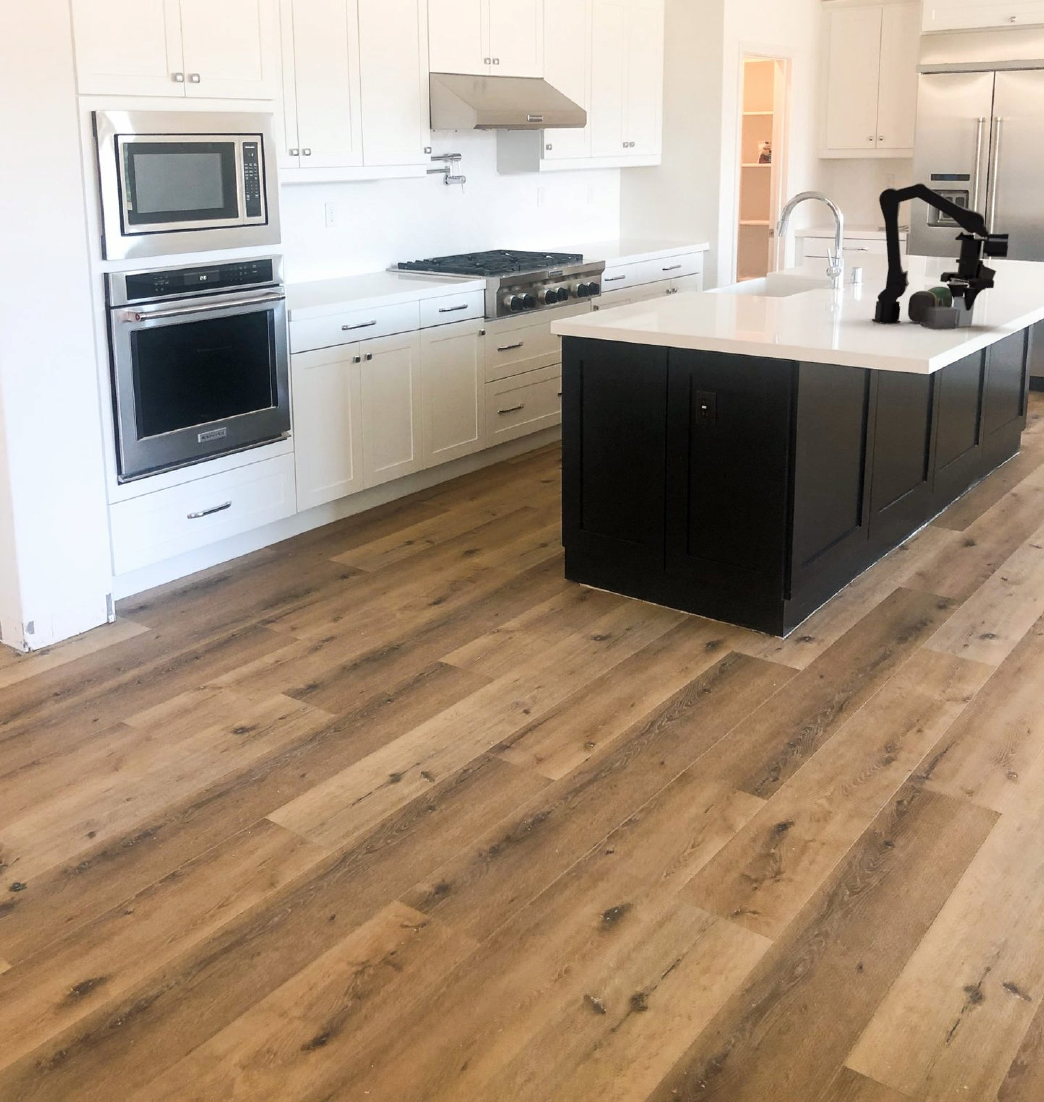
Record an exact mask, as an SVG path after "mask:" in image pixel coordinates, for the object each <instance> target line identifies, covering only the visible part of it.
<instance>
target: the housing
mask: <svg viewBox="0 0 1044 1102" xmlns="http://www.w3.org/2000/svg"><path fill="white" fill-rule="evenodd" d="M956 313H957V309H952V308H948V307H944V306H940V307H923V309H922V318H921V322H920V327H923V328H928V329H931V330H948V329H949V330H952V329H954V330H955V328H956V326H955V321H956Z"/></svg>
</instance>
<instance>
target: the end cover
mask: <svg viewBox="0 0 1044 1102" xmlns="http://www.w3.org/2000/svg"><path fill="white" fill-rule="evenodd" d="M975 302H976V300H975V301H974V303H973V305H972V307H971V309H970V310H969V311H967V310H966V307H965V298H964V296H963V297H954V299H953V304H952V307H950V308H952V309H957V313H956V321H955V327H958V328H961V327H971V326H972V322H973V316H974V308H975Z"/></svg>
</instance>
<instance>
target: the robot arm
mask: <svg viewBox="0 0 1044 1102" xmlns="http://www.w3.org/2000/svg"><path fill="white" fill-rule="evenodd" d="M916 198H918V199H919V200H922V201H923V202H925V203H926V204H928V205H930V206H932V207H934V208H936V210H939V211H940V212H942V213H943V214H945V215H947V216H948V217H950V218H951V219H953V220H954V221H955V222H956V223H957V224H958V225H959V226H960V227H961V228H962V229H964V230H965V231H966V232H968V233H969V234H966V233H964V232H963V231H960V233H959V234H958V235H957V236H955V238H954V240H955V241H960V242H961V243H960V251H959V258H956V259H955V263H956V264H958V267H957V268H958V269H957V271H943V272H942V274H941V275H940V280H939V282H942V283H946V286H947V288H949V289H950V292H951V294H952V300H954V297H964V298H965V307H966V310H967V311H969V310H970V309H971V307H972V305H973V303H974V304H975V302H976V298H977V296H978V295H979V294H980V292H982V291H984V290H986V289H994V287H995V280H994V277H995V275H996V273H997V270H994V269H992V268H990V267H988V266H985V264H984V261H983V260H982V259H981V252H982V253H983V254H985V255H986V257H988V258H1007V257H1008V250H1009V236H1010V234H1009V233H1007V232H1006V233H990V232H989V229H987V227H986V226H985V216H984V215H983V214H982V213H980V212H979V211H975V210H973V209H970V208H967V207H964V206H961V205H959V204H957V203H955V202H953V201H952V200H950V199H948V198H947V197H945V196H943V195H942V194H940V193H939V192H936V191H935V190H933V189H931V188H930V187H928V186H926V184H925V183H922V182H919V183H916V184H915V185H910V186H906V187H903V188H898V189H897V188H895V187H889V188H886V189H885V190H883V191H882V192H881V193H880V195H879V197H878V201H879V202H878V203H879V206H880V209H881V212H882V213H881V214H882V217H883V219H884V226H885V243H886V251H887V252H886V253H887V267H888V268H887V275H886V280H885V288H884V289H882V291H881V292H880V293H878V295H877V300H876V303H875V311H874V318H871V321H873V322H876V323H880V324H893V323H894V324H899V323H901V320H900V312H901V306H900V305H901V304H900V303H901V302H900V301H898V299H899V298H900V297H902V296H903V295H904V294H905V292H906V290H907V287H908V286H909V285H910V282H909V280H908V279H909V278H908V276H909V275H908V274H909V271H908V270H905V271H904V269H903V266H902V256H901V254H902V253H901V240H900V228H899V226H900V225H899V216H900V209H901V203H903V202H906V201H908V200H912V199H916ZM975 234H977V235H978V236H979V237H980V238H978V237H975ZM982 242H984V243H982ZM982 245H983V250H982ZM947 282H948V283H947ZM974 301H975V302H974Z"/></svg>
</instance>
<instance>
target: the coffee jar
mask: <svg viewBox="0 0 1044 1102" xmlns="http://www.w3.org/2000/svg"><path fill="white" fill-rule="evenodd" d="M940 306H944V307H948V308H950V307H953V297H952V294H951V292H950V289H949V287H946V286H935V287H932V288H929V289H928V290H919V291H915V292H914V293H913V294H911V296H910V298H909V300H908V306H907V307H908V309H907V315H908V318H909V320H911V321H912V322H915V323H916V322H917V323H921V318H922V309H923V307H940Z"/></svg>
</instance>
